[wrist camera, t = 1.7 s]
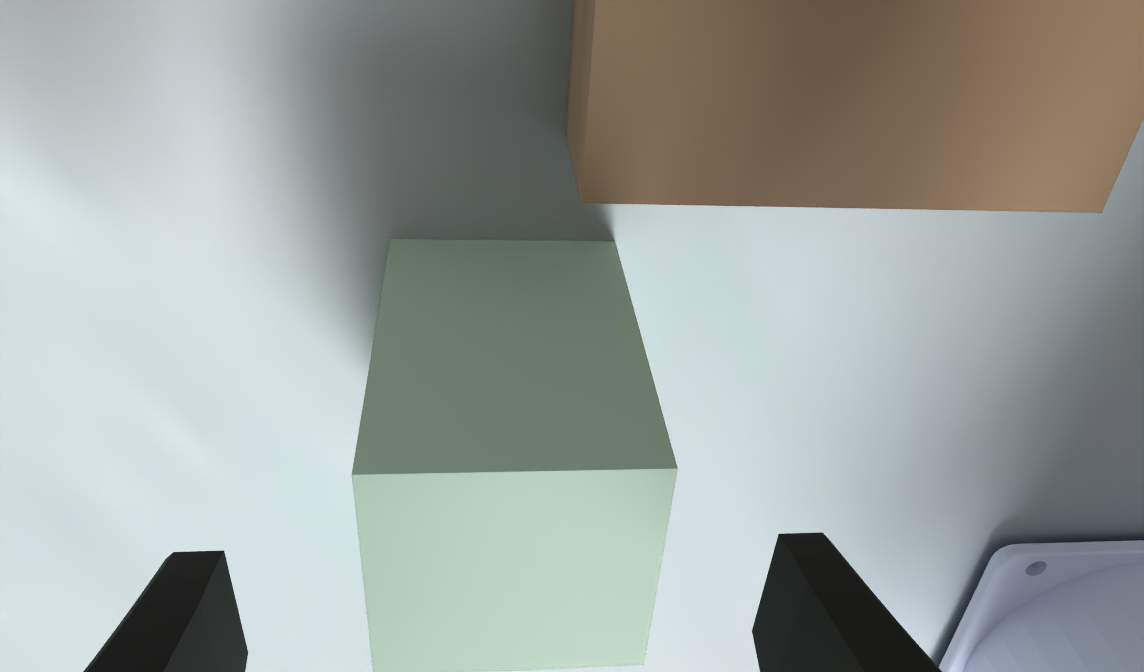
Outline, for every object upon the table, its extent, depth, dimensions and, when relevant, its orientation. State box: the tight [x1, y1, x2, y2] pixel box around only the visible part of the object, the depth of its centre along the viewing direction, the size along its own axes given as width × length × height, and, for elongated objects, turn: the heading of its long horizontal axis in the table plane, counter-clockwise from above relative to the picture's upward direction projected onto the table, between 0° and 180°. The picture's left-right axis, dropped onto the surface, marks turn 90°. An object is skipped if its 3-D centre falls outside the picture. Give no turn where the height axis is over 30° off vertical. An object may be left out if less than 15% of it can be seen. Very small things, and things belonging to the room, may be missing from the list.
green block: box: [352, 239, 678, 672], centre depth 14 cm, size 4×4×6 cm
